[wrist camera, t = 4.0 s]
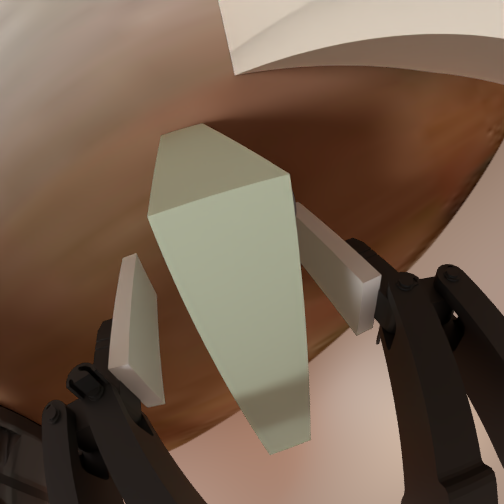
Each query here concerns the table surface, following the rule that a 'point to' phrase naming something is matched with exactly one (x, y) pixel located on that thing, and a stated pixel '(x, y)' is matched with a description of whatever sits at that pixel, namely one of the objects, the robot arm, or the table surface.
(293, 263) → the door
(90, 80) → the table surface
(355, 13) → the cabinet
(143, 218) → the table surface
